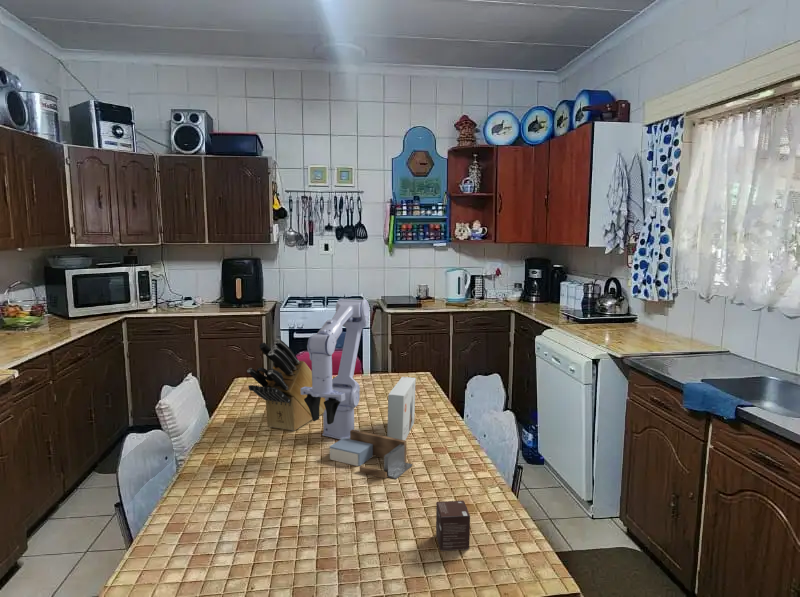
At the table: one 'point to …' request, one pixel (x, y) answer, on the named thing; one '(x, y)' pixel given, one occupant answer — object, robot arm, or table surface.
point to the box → (452, 525)
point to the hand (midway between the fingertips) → (323, 421)
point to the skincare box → (401, 408)
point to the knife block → (284, 388)
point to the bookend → (395, 462)
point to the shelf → (377, 448)
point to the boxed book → (351, 451)
